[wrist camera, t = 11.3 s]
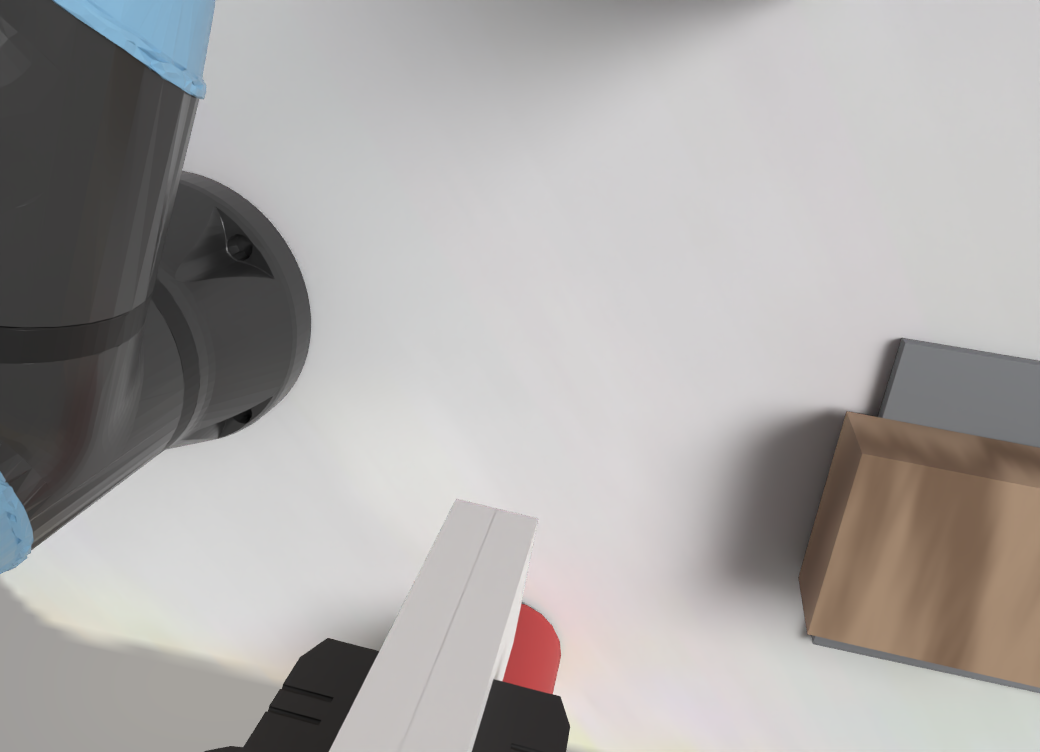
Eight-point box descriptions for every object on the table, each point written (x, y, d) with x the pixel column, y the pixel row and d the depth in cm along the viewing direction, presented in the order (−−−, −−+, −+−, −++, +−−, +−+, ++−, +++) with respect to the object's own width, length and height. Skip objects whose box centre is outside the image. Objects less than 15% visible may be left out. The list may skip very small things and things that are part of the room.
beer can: (437, 636, 53) (370, 788, 42) (501, 574, 51) (448, 718, 40) (517, 700, 54) (472, 866, 43) (584, 642, 51) (555, 802, 40)
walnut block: (807, 634, 42) (1114, 705, 39) (862, 453, 38) (1204, 520, 36) (798, 575, 46) (1072, 635, 44) (846, 409, 43) (1147, 466, 41)
